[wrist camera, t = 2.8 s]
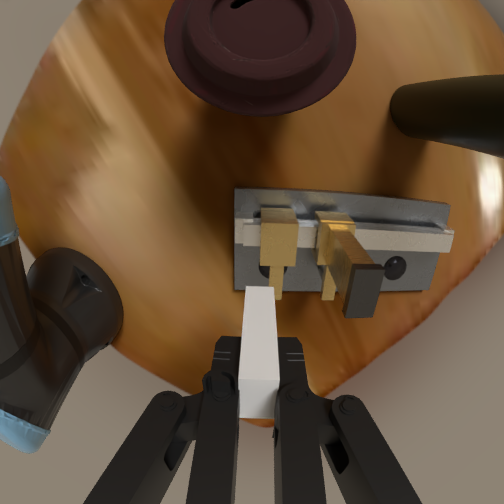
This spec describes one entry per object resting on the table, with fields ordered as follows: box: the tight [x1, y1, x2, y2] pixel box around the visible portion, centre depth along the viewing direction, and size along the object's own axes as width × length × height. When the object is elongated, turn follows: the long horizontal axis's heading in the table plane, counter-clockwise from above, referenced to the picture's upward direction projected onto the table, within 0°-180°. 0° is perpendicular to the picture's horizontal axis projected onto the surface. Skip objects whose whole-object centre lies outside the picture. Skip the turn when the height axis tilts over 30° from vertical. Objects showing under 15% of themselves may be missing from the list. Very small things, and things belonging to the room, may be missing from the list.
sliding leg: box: [311, 211, 385, 318], centre depth 24 cm, size 3×8×12 cm, turn 179°
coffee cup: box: [164, 0, 356, 117], centre depth 17 cm, size 10×10×15 cm
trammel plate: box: [234, 187, 454, 300], centre depth 28 cm, size 24×11×6 cm, turn 89°
